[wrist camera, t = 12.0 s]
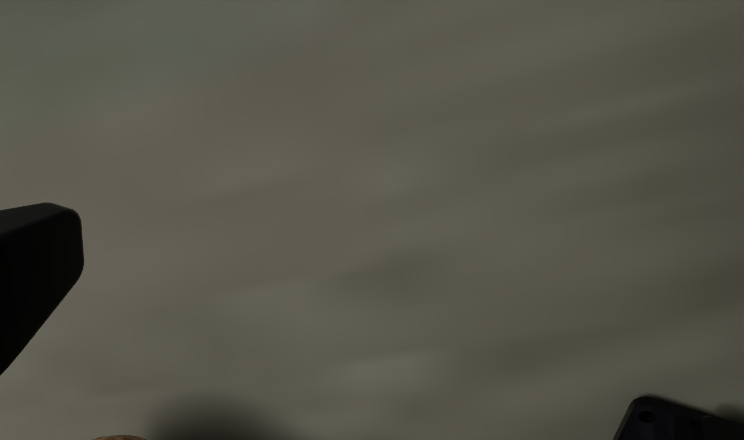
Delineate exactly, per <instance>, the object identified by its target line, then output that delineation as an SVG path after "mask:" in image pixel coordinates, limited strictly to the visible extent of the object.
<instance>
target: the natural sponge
mask: <svg viewBox="0 0 744 440" xmlns="http://www.w3.org/2000/svg"><path fill="white" fill-rule="evenodd" d="M93 440H146V439H143V438H141V437H137V436H130V435H116V436H106V437H100V438H96V439H93Z"/></svg>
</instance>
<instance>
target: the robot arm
mask: <svg viewBox="0 0 744 440" xmlns="http://www.w3.org/2000/svg"><path fill="white" fill-rule="evenodd" d="M83 266H84V254H83V240H82V226H81V219H80V217H79V215H78V213H77V212H76V211H74V210H73V209H69V208H66V207H63V206H60V205H56V204H53V203H40V204H34V205H28V206H23V207H17V208H11V209H5V210H0V375H1V374H2V373H3V372H4V371H5V370H6V369H7V368H8V367H9V366H10V364H11V363H12V362H13V361H14V360H15V358H16V357H17V356H18V355H19V354H20V353H21V351H22V350H23V349H24V348H25V346H26V345H27V344H28V343H29V341H30V340H31V339H32V338H33V336H34V335H35V334H36V332H37V331H38V330H39V329H40V327H41V326H42V325H43V324H44V322H45V321H46V320H47V319H48V317H49V316H50V315H51V314H52V312H53V311H54V310H55V309H56V307H57V306H58V305H59V304H60V302H61V301H62V300H63V299H64V297H65V296H66V295H67V293H68V292H69V291H70V290H71V288H72V287H73V286H74V285H75V283H76V282H77V281H78V279H79V277H80V275H81V273H82V270H83ZM643 411H650V412H652V413H651V414H648V415H645V414H642V413H641V412H643ZM613 440H744V426H742V425H739V424H736V423H733V422H729V421H726V420H723V419H720V418H717V417H713V416H709V415H706V414H703V413H699V412H696V411H693V410H690V409H687V408H683V407H680V406H677V405H674V404H670V403H667V402H664V401H661V400H658V399H654V398H651V397H638V398H636V399H634V400H633V401H632V402H631V404H630V405H629V407H628V410H627V412H626V414H625V416H624V418H623V420H622V422H621V424H620V426H619V428H618V430H617V432H616V434H615V436H614V438H613Z"/></svg>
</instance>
